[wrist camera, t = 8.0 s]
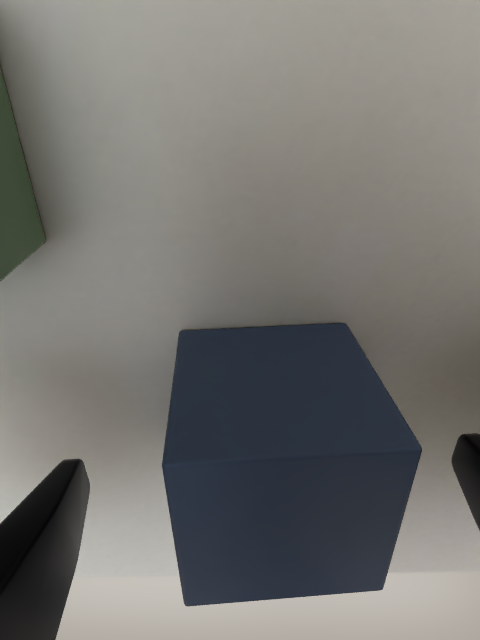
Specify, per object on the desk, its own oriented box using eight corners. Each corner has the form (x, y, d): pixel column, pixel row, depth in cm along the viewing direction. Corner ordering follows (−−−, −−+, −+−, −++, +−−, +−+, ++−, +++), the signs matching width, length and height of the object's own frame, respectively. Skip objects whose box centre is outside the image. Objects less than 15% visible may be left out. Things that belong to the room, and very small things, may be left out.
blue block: (330, 442, 13) (384, 591, 9) (192, 451, 13) (184, 608, 9) (346, 321, 11) (424, 448, 7) (178, 329, 11) (161, 465, 7)
